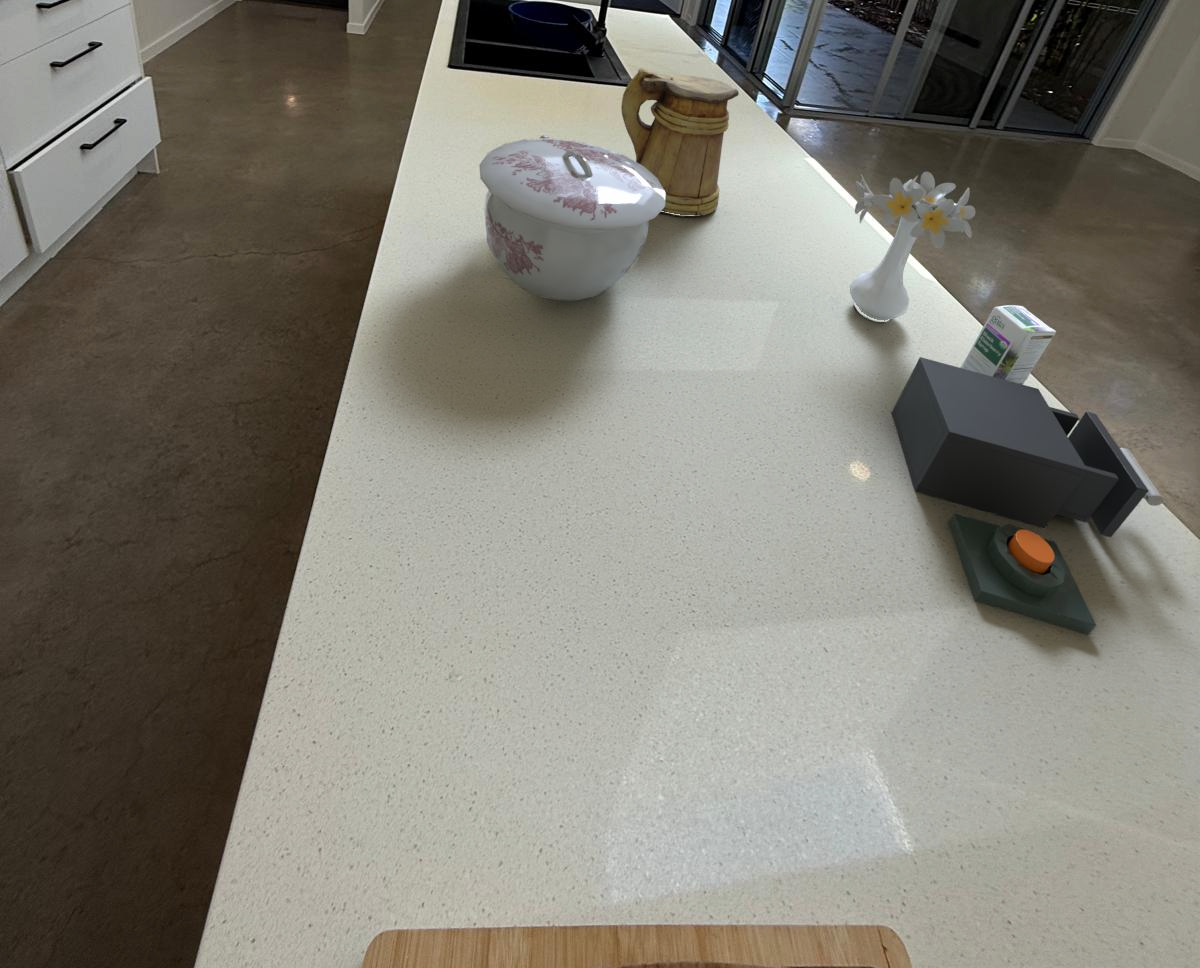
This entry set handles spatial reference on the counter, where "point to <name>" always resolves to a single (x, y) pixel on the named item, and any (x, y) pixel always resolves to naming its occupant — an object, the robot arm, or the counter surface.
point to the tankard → (680, 136)
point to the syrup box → (1009, 344)
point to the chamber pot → (566, 215)
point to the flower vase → (905, 238)
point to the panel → (1017, 577)
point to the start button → (1031, 551)
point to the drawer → (1103, 476)
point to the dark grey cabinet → (985, 443)
